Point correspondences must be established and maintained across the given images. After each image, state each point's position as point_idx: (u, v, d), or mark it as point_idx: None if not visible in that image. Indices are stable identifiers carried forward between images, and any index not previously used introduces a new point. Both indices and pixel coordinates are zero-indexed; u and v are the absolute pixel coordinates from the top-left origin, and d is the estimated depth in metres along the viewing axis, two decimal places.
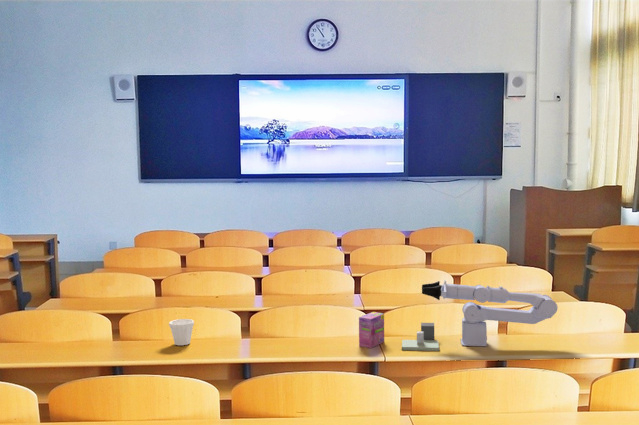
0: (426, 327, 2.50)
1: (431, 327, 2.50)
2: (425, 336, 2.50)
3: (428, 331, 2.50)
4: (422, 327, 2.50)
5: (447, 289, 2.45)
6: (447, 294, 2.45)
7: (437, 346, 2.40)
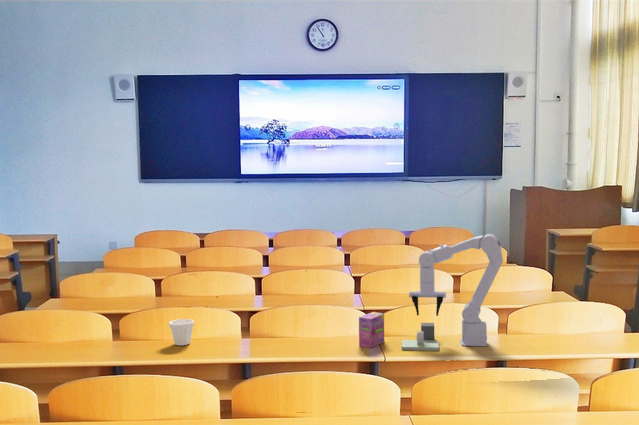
0: (426, 327, 2.50)
1: (431, 327, 2.50)
2: (425, 336, 2.50)
3: (428, 331, 2.50)
4: (422, 327, 2.50)
5: None
6: (420, 291, 2.51)
7: (437, 346, 2.40)
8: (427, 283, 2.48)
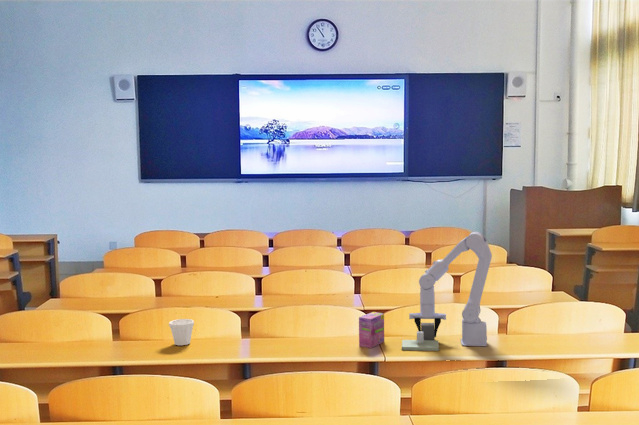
0: (426, 327, 2.50)
1: (431, 327, 2.50)
2: (425, 336, 2.50)
3: (428, 331, 2.50)
4: (422, 327, 2.50)
5: None
6: (420, 312, 2.52)
7: (437, 346, 2.40)
8: (427, 305, 2.49)
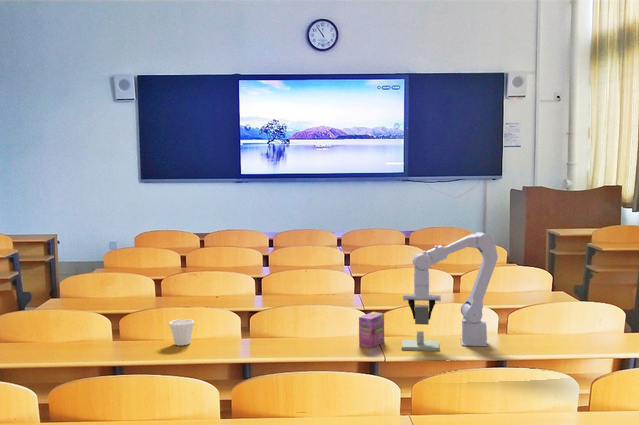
0: (420, 309, 2.43)
1: (425, 309, 2.43)
2: (419, 318, 2.44)
3: (422, 313, 2.43)
4: (416, 309, 2.44)
5: None
6: (414, 294, 2.45)
7: (437, 346, 2.40)
8: (421, 286, 2.42)
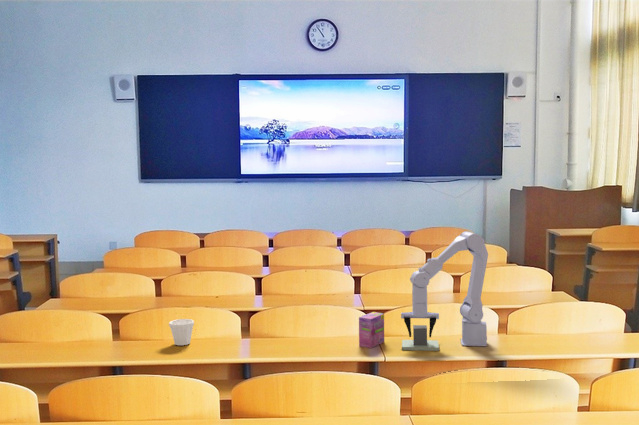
0: (418, 330, 2.42)
1: (424, 330, 2.41)
2: (417, 339, 2.42)
3: (420, 334, 2.42)
4: (414, 330, 2.42)
5: None
6: None
7: (437, 346, 2.40)
8: (420, 304, 2.40)
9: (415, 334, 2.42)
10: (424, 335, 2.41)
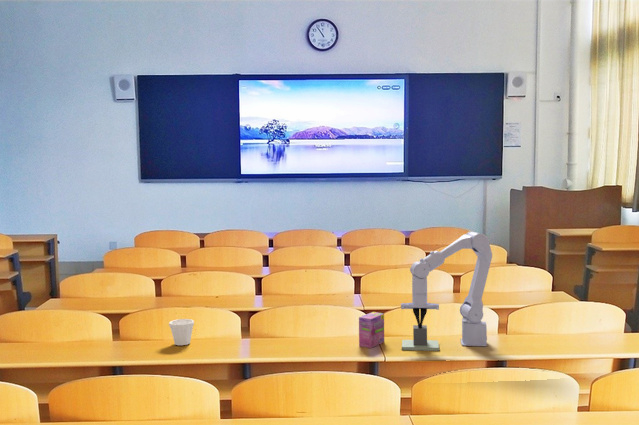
0: (418, 330, 2.42)
1: (424, 330, 2.41)
2: (417, 339, 2.42)
3: (420, 334, 2.42)
4: (414, 330, 2.42)
5: None
6: (412, 302, 2.43)
7: (437, 346, 2.40)
8: (419, 294, 2.40)
9: (415, 334, 2.42)
10: (424, 335, 2.41)
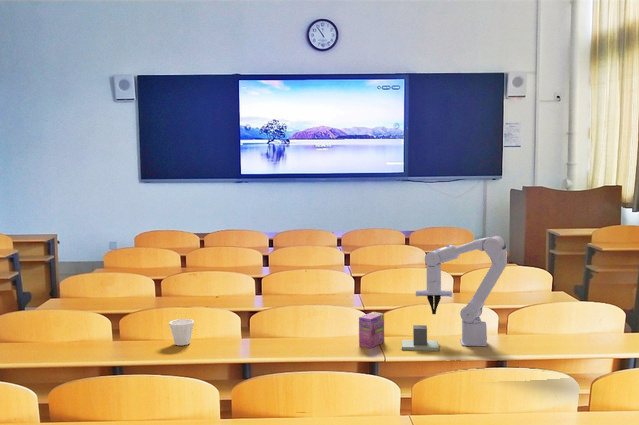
0: (418, 330, 2.42)
1: (424, 330, 2.41)
2: (417, 339, 2.42)
3: (420, 334, 2.42)
4: (414, 330, 2.42)
5: None
6: (427, 290, 2.53)
7: (437, 346, 2.40)
8: (434, 282, 2.50)
9: (415, 334, 2.42)
10: (424, 335, 2.41)
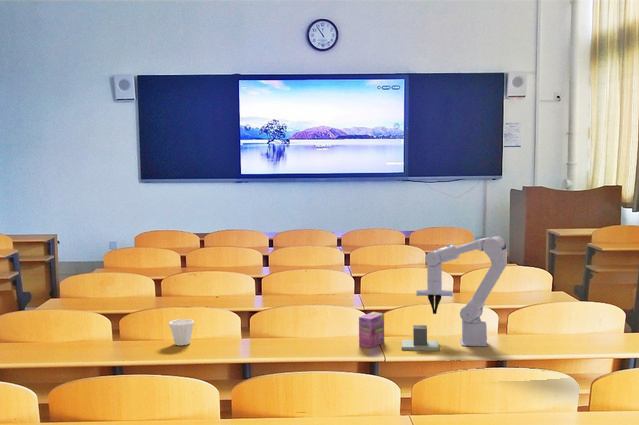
0: (418, 330, 2.42)
1: (424, 330, 2.41)
2: (417, 339, 2.42)
3: (420, 334, 2.42)
4: (414, 330, 2.42)
5: None
6: (427, 289, 2.54)
7: (437, 346, 2.40)
8: (434, 282, 2.51)
9: (415, 334, 2.42)
10: (424, 335, 2.41)
